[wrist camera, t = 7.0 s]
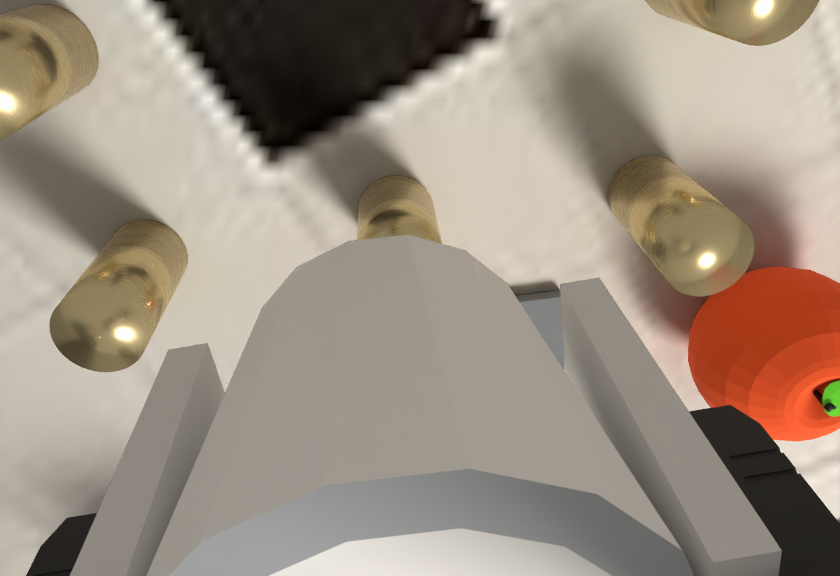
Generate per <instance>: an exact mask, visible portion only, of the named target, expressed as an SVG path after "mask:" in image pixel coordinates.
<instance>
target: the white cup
mask: <svg viewBox="0 0 840 576" xmlns="http://www.w3.org/2000/svg"><path fill="white" fill-rule="evenodd" d="M146 576H694V574H693V572H692V570H691V568H690V566H689V563H688V561H687V559H686V557H685V555H684V553H683V551H682V549H681V548H680V546H679V544H678V543H677V541H676V540H675V538H674V537H673V535H672V534H671V532H670V531H669V529H668V528H667V526H666V525H665V523H664V522H663V520H662V519H661V517H660V516H659V514H658V512H657V511H656V509H655V508H654V506H653V505H652V503H651V502H650V500H649V499H648V497H647V496H646V494H645V493H644V491H643V490H642V488H641V487H640V485H639V484H638V482H637V480H636V479H635V477H634V476H633V474H632V473H631V471H630V470H629V468H628V467H627V465H626V464H625V462H624V461H623V459H622V458H621V456H620V455H619V453H618V452H617V450H616V449H615V447H614V445H613V444H612V442H611V441H610V439H609V438H608V436H607V435H606V433H605V432H604V430H603V429H602V427H601V426H600V424H599V423H598V421H597V420H596V418H595V417H594V415H593V413H592V412H591V410H590V409H589V407H588V406H587V404H586V403H585V401H584V400H583V398H582V397H581V395H580V394H579V392H578V391H577V389H576V388H575V386H574V385H573V383H572V381H571V380H570V378H569V377H568V375H567V374H566V372H565V371H564V369H563V368H562V366H561V365H560V363H559V362H558V360H557V359H556V357H555V356H554V354H553V353H552V351H551V350H550V348H549V346H548V345H547V343H546V342H545V340H544V339H543V337H542V336H541V334H540V333H539V331H538V330H537V328H536V327H535V325H534V324H533V322H532V321H531V319H530V318H529V316H528V314H527V313H526V311H525V310H524V308H523V307H522V305H521V304H520V302H519V301H518V299H517V298H516V296H515V295H514V293H513V292H512V290H511V289H510V287H509V286H508V284H507V282H505V281H504V280H503V279H501V278H500V277H499V276H498V275H496V274H495V273H494V272H492V271H491V270H490V269H488V268H487V267H486V266H485V265H483V264H482V263H481V262H479V261H478V260H477V259H476V258H474V257H473V256H472V255H470V254H469V253H468V252H467V251H465V250H463V249H459V248H455V247H452V246H448V245H444V244H441V243H437V242H433V241H430V240H426V239H422V238H419V237H415V236H411V235H402V236H392V237H382V238H373V239H363V240H353V241H348V242H346V243H344V244H342V245H340V246H338V247H336V248H334V249H332V250H330V251H328V252H326V253H324V254H322V255H320V256H318V257H316V258H314V259H312V260H310V261H308V262H306V263H304V264H302V265H300V266H298V267H296V268H295V270H294V271H293V272H292V273H291V274H290V276H289V277H288V278H287V279H286V280H285V281H284V283H283V284H282V285H281V286H280V287H279V288H278V290H277V291H276V292H275V293H274V294H273V296H272V297H271V298H270V299H269V300H268V301H267V303H266V304H265V305H264V306H263V307H262V309H261V311H260V313H259V316H258V318H257V320H256V323H255V325H254V327H253V330H252V332H251V334H250V337H249V339H248V341H247V344H246V346H245V348H244V351H243V353H242V355H241V358H240V360H239V362H238V364H237V367H236V369H235V371H234V374H233V376H232V378H231V381H230V383H229V385H228V388H227V390H226V392H225V395H224V397H223V399H222V402H221V404H220V406H219V409H218V411H217V413H216V415H215V418H214V420H213V422H212V425H211V427H210V429H209V432H208V434H207V436H206V439H205V441H204V443H203V446H202V448H201V450H200V453H199V455H198V457H197V460H196V462H195V464H194V466H193V469H192V471H191V473H190V476H189V478H188V480H187V483H186V485H185V487H184V490H183V492H182V494H181V497H180V499H179V501H178V504H177V506H176V508H175V511H174V513H173V515H172V517H171V520H170V522H169V524H168V527H167V529H166V531H165V534H164V536H163V538H162V541H161V543H160V545H159V548H158V550H157V552H156V555H155V557H154V559H153V562H152V564H151V566H150V568H149V571H148V573H147V575H146Z"/></svg>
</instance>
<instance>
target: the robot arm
mask: <svg viewBox="0 0 840 576" xmlns="http://www.w3.org/2000/svg"><path fill="white" fill-rule="evenodd" d="M560 292H561V309H562V326H563V343H564V360H565V372H566V374H567V375H568V377H569V378H570V380H571V381H572V383H573V385H574V386H575V388H576V389H577V391H578V392H579V394H580V395H581V397H582V398H583V400H584V401H585V403H586V404H587V406H588V407H589V409H590V410H591V412H592V413H593V415H594V417H595V418H596V420H597V421H598V423H599V424H600V426H601V427H602V429H603V430H604V432H605V433H606V435H607V436H608V438H609V439H610V441H611V442H612V444H613V445H614V447H615V449H616V450H617V452H618V453H619V455H620V456H621V458H622V459H623V461H624V462H625V464H626V465H627V467H628V468H629V470H630V471H631V473H632V474H633V476H634V477H635V479H636V480H637V482H638V484H639V485H640V487H641V488H642V490H643V491H644V493H645V494H646V496H647V497H648V499H649V500H650V502H651V503H652V505H653V506H654V508H655V509H656V511H657V512H658V514H659V516H660V517H661V519H662V520H663V522H664V523H665V525H666V526H667V528H668V529H669V531H670V532H671V534H672V535H673V537H674V538H675V540H676V541H677V543H678V544H679V546H680V548H681V549H682V551H683V553H684V555H685V557H686V559H687V561H688V563H689V566H690V568H691V570H692V572H693V574H694V576H840V523H839V522H838V521H837V520H836V518H835V517H834V516H833V515H832V513H831V512H830V511H829V510H828V508H827V507H826V506H825V505H824V503H823V502H822V501H821V500H820V498H819V497H818V496H817V495H816V493H815V492H814V491H813V489H812V488H811V487H810V486H809V484H808V483H807V482H806V481H805V479H804V478H803V477H802V476H801V474H797V472H796V468H795V467H794V466H793V464H792V463H791V462H790V461H789V459H788V458H787V457H786V456H785V454H784V453H781V452H780V448H779V447H778V445H777V444H776V443H775V442H774V440H773V439H772V438H771V437H770V435H769V434H768V433H767V432H766V430H765V429H764V428H763V427H762V425H761V424H760V423H758V422H757V421H755V420H754V419H752V418H751V417H749V416H747V415H746V414H744V413H743V412H741V411H739V410H738V409H736V408H735V407H733V406H732V405H726V406H720V407H714V408H708V409H702V410H696V411H690V412H689V411H688V410H687V408H686V407H685V405H684V404H683V402H682V401H681V399H680V398H679V396H678V395H677V393H676V392H675V390H674V389H673V387H672V386H671V384H670V383H669V381H668V380H667V378H666V377H665V375H664V374H663V372H662V371H661V369H660V368H659V366H658V365H657V363H656V362H655V360H654V359H653V357H652V356H651V354H650V353H649V351H648V350H647V348H646V347H645V345H644V344H643V342H642V341H641V339H640V338H639V336H638V335H637V333H636V332H635V330H634V329H633V327H632V326H631V324H630V323H629V321H628V320H627V318H626V317H625V315H624V314H623V312H622V311H621V309H620V308H619V306H618V305H617V304H616V302H615V301H614V299H613V298H612V296H611V295H610V293H609V292H608V290H607V289H606V287H605V286H604V284H603V283H602V281H601V280H600V278H594V279H588V280H582V281H576V282H570V283H564V284H560ZM224 395H225V392H224V389H223V386H222V383H221V380H220V378H219V375H218V372H217V369H216V366H215V363H214V360H213V357H212V354H211V352H210V349H209V346H208V343H206V344H200V345H194V346H188V347H182V348H176V349H170V350H168V352H167V354H166V357H165V359H164V361H163V363H162V366H161V368H160V370H159V373H158V375H157V377H156V379H155V382H154V384H153V386H152V389H151V391H150V393H149V396H148V398H147V400H146V402H145V405H144V407H143V409H142V412H141V414H140V416H139V418H138V421H137V423H136V425H135V428H134V430H133V432H132V434H131V437H130V439H129V441H128V444H127V446H126V448H125V451H124V453H123V455H122V457H121V460H120V462H119V464H118V467H117V469H116V471H115V473H114V476H113V478H112V480H111V483H110V485H109V487H108V489H107V492H106V494H105V496H104V499H103V501H102V503H101V506H100V508H99V510H98V512H97V513H94V514H88V515H82V516H76V517H70V518H67V519H66V520H65V521H64V522H63V523H62V524H61V525H60V526H59V527H58V528H57V529H56V531H55V532H54V533H53V534H52V535H51V536H50V537H49V538H48V539H47V540H46V541H45V542H44V544H43V545H42V546H41V547H40V549H39V551H38V553H37V555H36V557H35V559H34V561H33V563H32V565H31V567H30V569H29V571H28V573H27V575H26V576H146V575H147V573H148V571H149V568H150V566H151V564H152V562H153V559H154V557H155V555H156V552H157V550H158V548H159V545H160V543H161V541H162V538H163V536H164V534H165V531H166V529H167V527H168V524H169V522H170V520H171V517H172V515H173V513H174V511H175V508H176V506H177V504H178V501H179V499H180V497H181V494H182V492H183V490H184V487H185V485H186V483H187V480H188V478H189V476H190V473H191V471H192V469H193V466H194V464H195V462H196V460H197V457H198V455H199V453H200V450H201V448H202V446H203V443H204V441H205V439H206V436H207V434H208V432H209V429H210V427H211V425H212V422H213V420H214V418H215V415H216V413H217V411H218V409H219V406H220V404H221V402H222V399H223V397H224Z"/></svg>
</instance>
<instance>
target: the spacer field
mask: <svg viewBox="0 0 840 576" xmlns="http://www.w3.org/2000/svg"><path fill="white" fill-rule="evenodd" d="M646 1H647V3H648V4H649V5H650V7H651V8H652V9H653V10H655V11H656V12H657V13H659V14H661V15H663V16H666V17H669V18H672V19H675V20H678V21H680V22H683V23H686V24H689V25H692V26H695V27H698V28H701V29H703V30H706V31H709V32H712V33H715V34H718V35H721V36H724V37H726V38H729V39H732V40H735V41H738V42H741V43H744V44H748V45H755V46H760V45H768V44H772V43H775V42H778V41H780V40H782V39H784V38H786V37H788V36H789V35H791V34H792V33H794V32H795V31H796V30H797V29H799V28H800V27H801V26H802V25H803V24H804V23H805V22H806V20H807V19H808V18H809V17H810V15H811V14H812V13H813V11H814V9H815V8H816V6H817V4H818V2H819V0H646ZM98 60H99V57H98V50H97V46H96V43H95V41H94V38H93V36H92V35H91V33H90V31H89V30H88V28H87V27H86V26H85V25H84V24H83V23H82V22H81V21H80V20H79V19H78V18H77V17H76V16H74V15H73V14H72V13H70V12H68V11H66V10H64V9H62V8H60V7H57V6H53V5H46V4H40V5H33V6H29V7H25V8H22V9H18V10H14V11H11V12H7V13H3V14H0V140H1V139H3V138H5V137H6V136H8V135H10V134H11V133H13V132H15V131H16V130H18V129H19V128H21V127H23V126H24V125H26V124H28V123H29V122H31V121H32V120H34V119H36V118H37V117H39V116H40V115H42V114H44V113H45V112H47V111H49V110H50V109H52V108H53V107H55V106H57V105H58V104H60V103H62V102H63V101H65V100H66V99H68V98H70V97H71V96H73V95H75V94H76V93H78V92H79V91H81V90H83V89H84V88H85V87H87V86H88V85H89V84H90V83H91V81H92V80H93V79H94V77H95V75H96V72H97V69H98ZM608 202H609V206H610V209H611V211H612V213H613V214H614V216H615V217H616V218H617V219H618V221H619V222H620V223H621V224H622V225H623V227H624V228H625V229H626V230H627V232H628V233H629V234H630V235H631V237H632V238H633V239H634V240H635V241H636V243H637V244H638V245H639V246H640V248H641V249H642V250H643V251H644V253H645V254H646V255H647V256H648V257H649V259H650V260H651V261H652V262H653V264H654V265H655V266H656V267H657V269H658V270H659V271H660V272H661V273H662V275H663V276H664V277H665V278H666V280H667V281H668V282H669V283H670V285H671V286H672V287H673V288H674V289H676V290H677V291H679V292H681V293H683V294H686V295H690V296H708V295H712V294H716V293H718V292H721V291H723V290H725V289H727V288H728V287H730V286H731V285H733V284H734V283H735V282H737V281H738V280H739V279H740V278H741V277H742V276H743V274H744V273H745V272H746V270H747V269H748V267H749V265H750V263H751V261H752V258H753V255H754V249H755V242H754V237H753V234H752V231H751V229H750V228H749V226H748V225H747V224H746V223H745V222H744V221H743V220H742V219H740V218H739V217H738V216H737V215H735V214H734V213H733V212H732V211H731V210H729V209H728V208H727V207H726V206H725V205H723V204H722V203H721V202H720V201H718V200H717V199H716V198H715V197H714V196H712V195H711V194H710V193H709V192H707V191H706V190H705V189H704V188H703V187H701V186H700V185H699V184H698V183H697V182H695V181H694V180H693V179H692V178H690V177H689V176H688V175H687V174H686V173H684V172H683V171H682V170H681V169H680V168H678V167H677V166H676V165H675V164H673V163H672V162H671V161H670V160H668V159H666V158H663V157H660V156H652V155H651V156H643V157H639V158H636V159H634V160H632V161H630V162H629V163H627V164H626V165H624V166H623V167H622V168H621V169H620V170H619V171H618V172H617V174H616V175H615V177H614V178H613V180H612V182H611V185H610V187H609V192H608ZM402 235H411V236H415V237H419V238H422V239H426V240H430V241H433V242H437V243H441V244H442V242H441V237H440V233H439V228H438V224H437V219H436V215H435V210H434V205H433V201H432V198H431V196H430V194H429V193H428V191H427V190H426V189H425V187H424V186H423V185H421V184H420V183H419V182H417V181H416V180H414V179H412V178H409V177H405V176H398V175H395V176H387V177H384V178H381V179H379V180H377V181H375V182H374V183H372V184H371V185H370V186H369V187H368V188H367V189H366V190H365V192H364V193H363V195H362V197H361V199H360V202H359V207H358V231H357V240H363V239H373V238H382V237H392V236H402ZM187 264H188V254H187V250H186V247H185V245H184V243H183V241H182V240H181V238H180V237H179V236H178V235H177V233H175V232H174V231H173V230H172V229H170V228H169V227H167V226H165V225H164V224H161V223H159V222H155V221H151V220H136V221H132V222H129V223H127V224H125V225H123V226H122V227H120V228H119V229H118V230H117V231H116V233H115V234H114V235H113V236H112V238H111V239H110V240H109V241H108V243H107V244H106V245H105V247H104V248H103V249H102V250H101V252H100V253H99V254H98V255H97V257H96V258H95V259H94V260H93V262H92V263H91V264H90V265H89V267H88V268H87V269H86V271H85V272H84V273H83V274H82V276H81V277H80V278H79V279H78V281H77V282H76V283H75V284H74V286H73V287H72V288H71V289H70V291H69V292H68V293H67V294H66V296H65V297H64V298H63V300H62V301H61V302H60V303H59V305H58V306H57V307H56V308H55V310H54V312H53V313H52V316H51V319H50V333H51V337H52V339H53V341H54V343H55V345H56V347H57V348H58V350H59V351H60V352H61V353H62V354H63V355H64V356H65V357H66V358H67V359H69V360H70V361H72V362H73V363H75V364H77V365H79V366H81V367H83V368H86V369H89V370H93V371H99V372H114V371H119V370H122V369H125V368H127V367H129V366H131V365H132V364H134V363H135V362H136V361H137V360H138V359H139V358H140V357H141V355H142V354H143V352H144V350H145V348H146V346H147V344H148V342H149V340H150V338H151V337H152V335H153V333H154V331H155V329H156V327H157V325H158V323H159V321H160V319H161V317H162V315H163V313H164V311H165V309H166V307H167V305H168V303H169V301H170V299H171V298H172V296H173V294H174V292H175V290H176V288H177V286H178V284H179V282H180V280H181V278H182V276H183V274H184V272H185V270H186V268H187Z"/></svg>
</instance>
